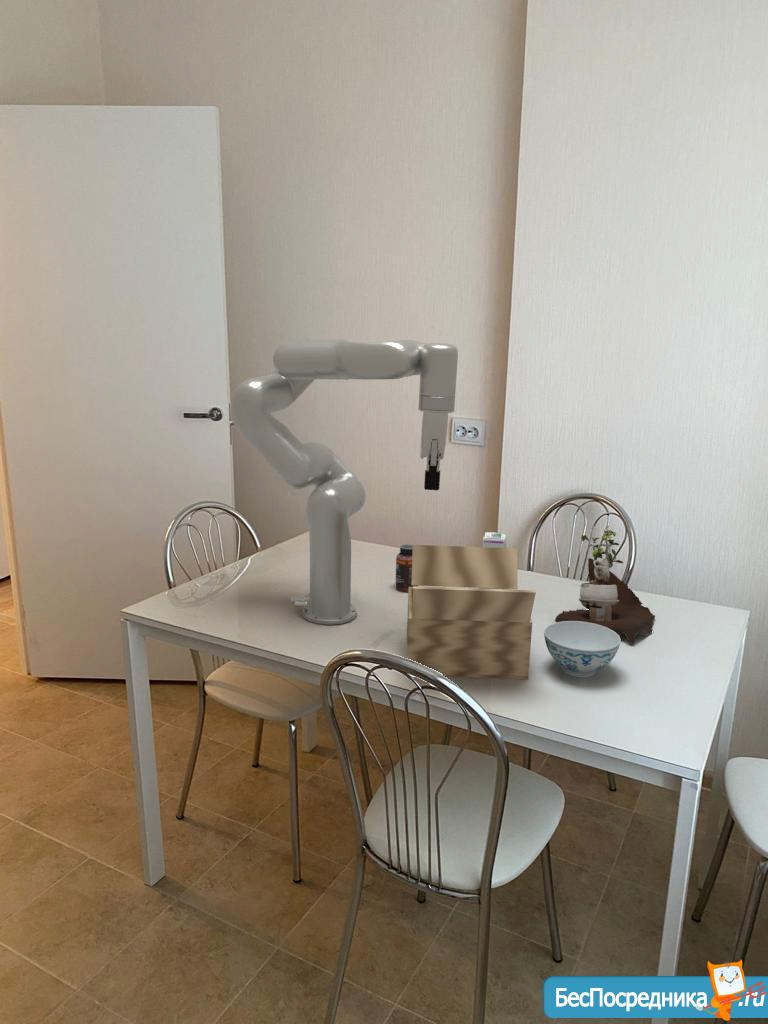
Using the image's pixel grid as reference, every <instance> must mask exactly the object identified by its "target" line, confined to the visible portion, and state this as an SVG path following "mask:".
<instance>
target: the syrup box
mask: <svg viewBox="0 0 768 1024" xmlns="http://www.w3.org/2000/svg"><path fill="white" fill-rule="evenodd" d="M481 547H491V548H507V533H503V532H497V531H496V532H495V531H493V532H490V531H489V532H486V531H485V532H484V535H483V537H482V546H481ZM480 589H502V588H480Z"/></svg>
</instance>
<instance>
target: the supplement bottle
mask: <svg viewBox="0 0 768 1024" xmlns="http://www.w3.org/2000/svg"><path fill="white" fill-rule="evenodd" d="M413 545H414V544H402V545H400V548H399V552H398V553H397V555H396V557H395V588H396V590H398V591H400V592H405V593H408V590H409V587H413V586H414V585H411V582H412V548H413ZM416 587H419V586H416Z"/></svg>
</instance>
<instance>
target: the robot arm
mask: <svg viewBox="0 0 768 1024" xmlns="http://www.w3.org/2000/svg"><path fill="white" fill-rule="evenodd" d="M458 359H459V350H458V348H457V346H455V345H454V344H450V343H440V342H439V343H438V342H430V343H428V342H422V341H417V340H412V339H404V340H403V339H402V340H395V341H382V342H379V341H377V342H352V341H351V342H350V341H348V340H346V339H341V338H340V339H339V338H338V339H337V338H336V339H306V338H305V339H297V340H287V341H284V342H282V343H280V344H279V345H278V346H277V348H276V349H275V350H274V352H273V356H272V364H273V367H274V371H273V372H272V373H271V374H269V375H268V374H267V375H261V376H256V377H251V378H248V379H246V380H245V381H243V382H241V383H240V384H239V385H238V386H237V387H236V389H235V391H234V392H233V395H232V400H231V414H232V418H233V421H234V423H235V426H236V428H237V429H238V430H239V432H240V433H241V434H242V436H243V437H244V438H245V439H246V440H247V441H248V442H249V443H250V445H252V446H253V447H254V448H255V449H256V451H258V452H259V454H260V455H261V456H262V458H264V459H265V461H266V462H267V463H268V464H269V465H270V466H271V468H273V470H275V472H276V473H277V474H278V475H279V477H281V478H282V480H283V481H284V482H285V483H286V484H287V485H288V486H289V487H291V488H293V489H297V490H302V489H307V488H309V487H311V486H314V487H315V488H314V489H313V490H312V491H311V492H310V493H309V495H308V498H307V501H306V506H305V507H306V517H307V518H306V519H307V524H308V525H307V526H308V531H309V532H308V535H309V536H308V537H309V592H308V595H304V596H299V595H291V596H290V605H294V608H303V609H302V615H303V618H304V619H305V620H307V621H308V622H311V623H314V624H318V625H331V626H333V625H340V624H341V625H342V624H347V623H349V622H351V621H353V620H355V618H356V617H357V615H358V613H357V612H358V611H357V610H358V609H357V608H356V607H355V606H354V605H352V604H351V594H352V593H351V592H352V591H351V590H352V589H351V587H352V583H351V581H352V580H351V579H352V536H351V530H350V525H349V519H350V517H352V516H353V515H355V514H357V513H358V512H359V511H361V509H362V508H363V507H364V505H365V502H366V490H365V488H364V485H363V484H362V482H361V480H359V478H358V477H357V476H356V475H355V474H354V472H353V471H352V470H351V469H350V468H349V467H348V466H347V465H346V464H345V463H344V462H343V461H342V459H341V458H339V456H338V455H337V454H336V453H335V451H333V450H332V449H331V448H330V447H328V446H327V445H325V444H324V443H320V442H318V441H317V442H316V441H310V442H307V443H303V442H301V441H300V440H299V439H298V438H297V437H296V435H294V434H293V432H292V431H291V430H290V429H289V428H288V427H287V426H286V425H284V424H283V423H282V422H281V421H279V420H278V419H277V418H275V417H274V416H273V415H272V413H276V412H279V411H283V410H285V409H287V408H289V407H290V406H291V405H292V404H294V403H295V401H296V400H297V399H299V397H300V396H301V395H302V394H303V393H304V392H305V391H306V390H307V388H309V386H310V385H311V384H312V383H313V382H314V381H315V380H345V381H347V380H398V379H399V380H400V379H402V378H407V377H412V376H419V394H418V395H419V396H418V409H417V410H418V411H420V412H423V413H422V418H421V419H422V422H421V435H420V436H421V437H420V454H419V455H420V456H419V457H420V458H421V460H423V459H424V458H426V469H424V490H425V491H427V490H428V491H439V490H440V484H441V483H440V482H441V481H440V479H441V470H440V464H441V463H440V462H441V461H442V460H443V459H444V456H445V451H446V444H447V437H448V436H447V435H448V422H449V413H450V414H451V413H455V407H456V406H455V405H456V402H455V401H456V390H457V389H456V388H457V374H458V373H457V372H458V362H459V360H458Z"/></svg>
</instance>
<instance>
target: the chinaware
mask: <svg viewBox="0 0 768 1024" xmlns="http://www.w3.org/2000/svg"><path fill="white" fill-rule="evenodd" d="M543 634H544V641H545V645H546V648H547V650H548V653H549V654H550V656H551V658H552V659H553V660H554V661H555V662H556V663H557V664H558V665H559V666H561V669H562V672H564V673H565V674H567V675H569V676H572V677H574V678H575V677H577V678H590V677H593V676H595V675H596V673H597V671H600V670H602V669H603V668H605V667H607V666H608V665H609V664H610V663H611V662H612V660H613V659H614V658H615V656H616V654H617V653H618V650H619V649H620V646H621V637H620V635H618V634H617V633H616V632H614V631H613V630H611V629H609V628H607V627H604V626H601V625H598V624H594V623H589V622H581V621H562V622H554V623H551V624H549V625H547V626H546V627H545V628H544V632H543Z"/></svg>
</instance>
